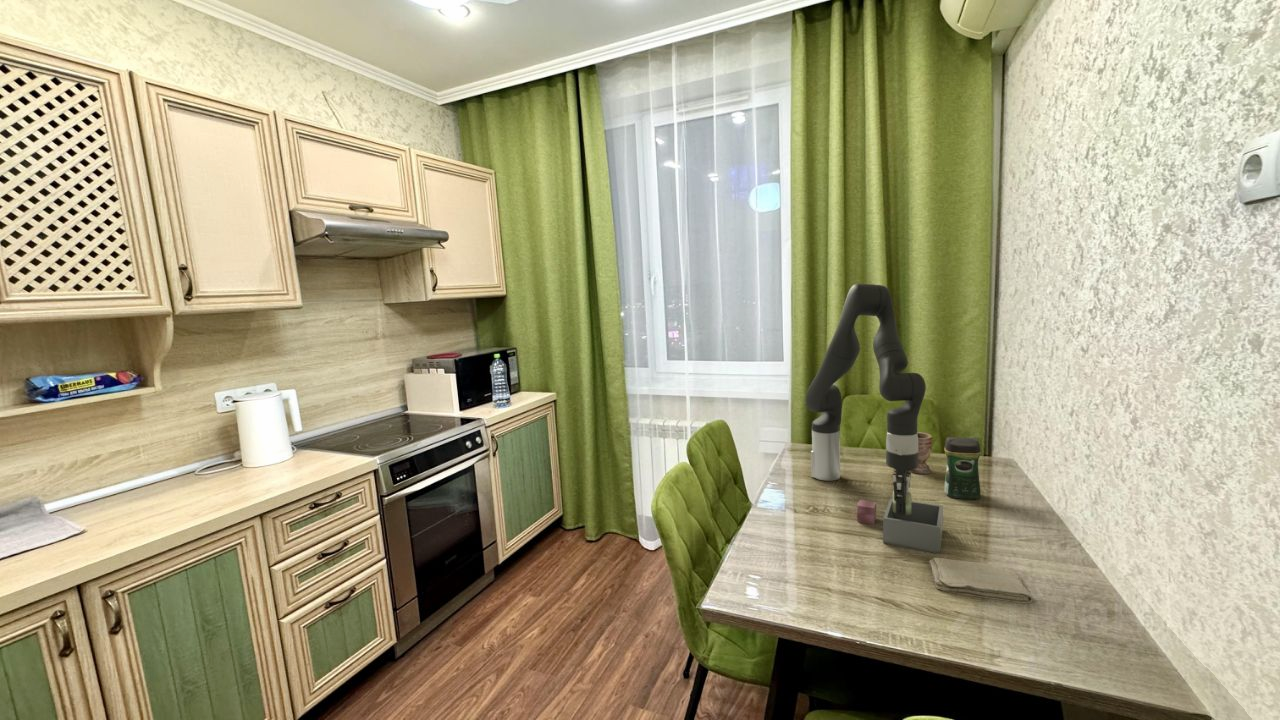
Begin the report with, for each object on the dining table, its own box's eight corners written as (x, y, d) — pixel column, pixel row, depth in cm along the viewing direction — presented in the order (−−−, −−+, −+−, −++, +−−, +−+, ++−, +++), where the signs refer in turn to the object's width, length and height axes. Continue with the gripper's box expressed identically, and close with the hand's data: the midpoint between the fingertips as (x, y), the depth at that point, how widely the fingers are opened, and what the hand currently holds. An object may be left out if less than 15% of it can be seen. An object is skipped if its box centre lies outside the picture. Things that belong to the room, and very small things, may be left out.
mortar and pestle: (896, 473, 180) (896, 418, 177) (893, 465, 188) (893, 412, 185) (933, 475, 176) (934, 419, 173) (929, 466, 184) (929, 413, 181)
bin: (883, 542, 135) (883, 518, 134) (890, 520, 147) (890, 497, 146) (940, 553, 128) (940, 527, 127) (942, 529, 140) (943, 505, 139)
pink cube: (857, 521, 148) (857, 505, 147) (860, 515, 151) (859, 499, 151) (873, 524, 145) (873, 508, 145) (876, 518, 149) (876, 502, 148)
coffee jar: (977, 491, 161) (979, 435, 159) (982, 501, 154) (983, 442, 152) (942, 488, 165) (943, 433, 163) (945, 498, 158) (946, 440, 156)
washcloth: (927, 565, 125) (927, 553, 124) (1015, 575, 118) (1016, 563, 117) (936, 593, 114) (936, 580, 113) (1033, 606, 107) (1034, 593, 107)
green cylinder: (891, 513, 135) (891, 495, 134) (893, 506, 138) (893, 489, 138) (910, 516, 132) (910, 498, 131) (912, 509, 136) (912, 491, 135)
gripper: (889, 439, 141) (889, 497, 143) (882, 455, 129) (882, 519, 131) (920, 442, 137) (920, 502, 139) (915, 459, 125) (915, 524, 127)
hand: (901, 510), depth 135 cm, fingers closed on green cylinder, 4 cm apart
